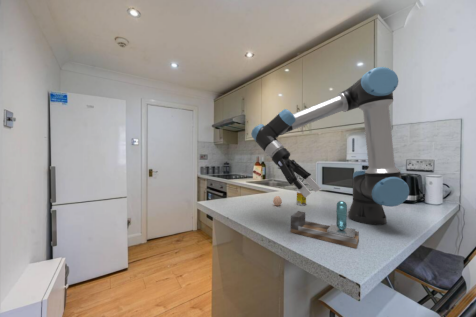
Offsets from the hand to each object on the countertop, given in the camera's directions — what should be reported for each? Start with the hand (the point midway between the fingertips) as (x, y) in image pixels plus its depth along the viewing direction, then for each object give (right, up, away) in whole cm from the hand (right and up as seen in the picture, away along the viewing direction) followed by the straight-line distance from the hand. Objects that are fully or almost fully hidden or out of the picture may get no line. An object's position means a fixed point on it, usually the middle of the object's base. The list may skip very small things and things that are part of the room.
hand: (313, 192), depth 74 cm
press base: (+3, -16, -2) cm, 16 cm away
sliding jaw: (+8, -14, -5) cm, 17 cm away
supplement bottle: (+10, -16, +46) cm, 49 cm away
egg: (-5, -16, +42) cm, 45 cm away
